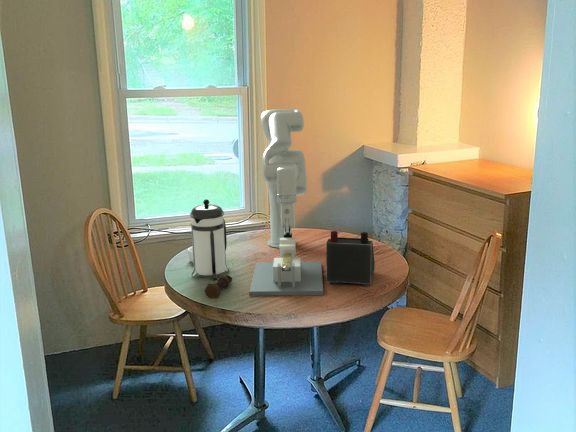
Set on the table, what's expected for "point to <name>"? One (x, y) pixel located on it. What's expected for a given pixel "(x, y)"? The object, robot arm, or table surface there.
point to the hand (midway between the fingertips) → (288, 243)
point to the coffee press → (208, 240)
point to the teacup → (190, 253)
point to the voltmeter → (349, 259)
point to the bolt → (217, 286)
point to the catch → (287, 247)
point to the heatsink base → (286, 289)
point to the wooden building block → (286, 262)
